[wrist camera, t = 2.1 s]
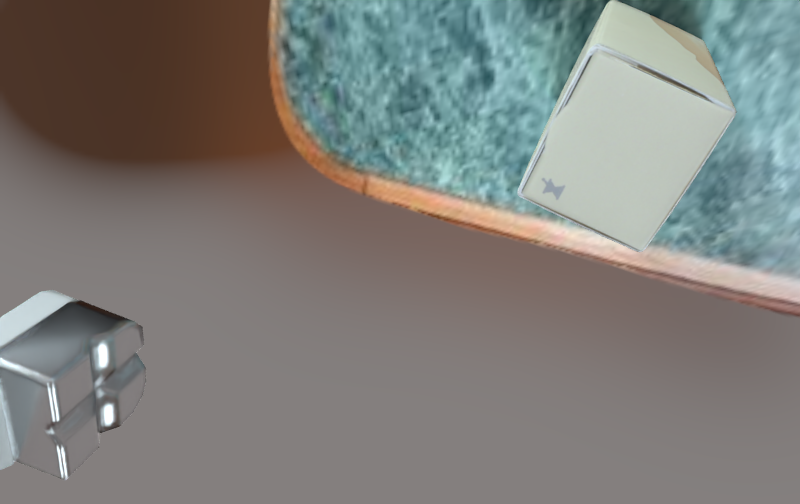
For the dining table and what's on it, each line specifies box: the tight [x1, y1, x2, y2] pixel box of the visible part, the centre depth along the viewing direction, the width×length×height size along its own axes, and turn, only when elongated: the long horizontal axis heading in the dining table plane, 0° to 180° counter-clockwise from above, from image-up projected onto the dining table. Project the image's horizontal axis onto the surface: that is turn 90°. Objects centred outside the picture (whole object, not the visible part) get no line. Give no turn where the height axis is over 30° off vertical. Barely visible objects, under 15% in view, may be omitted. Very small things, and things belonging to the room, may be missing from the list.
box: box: [518, 0, 736, 252], centre depth 24 cm, size 5×4×11 cm
